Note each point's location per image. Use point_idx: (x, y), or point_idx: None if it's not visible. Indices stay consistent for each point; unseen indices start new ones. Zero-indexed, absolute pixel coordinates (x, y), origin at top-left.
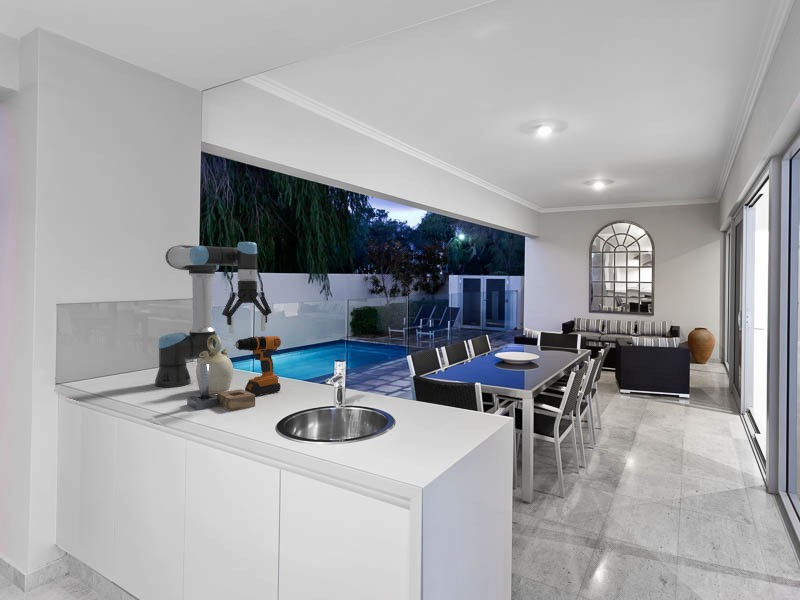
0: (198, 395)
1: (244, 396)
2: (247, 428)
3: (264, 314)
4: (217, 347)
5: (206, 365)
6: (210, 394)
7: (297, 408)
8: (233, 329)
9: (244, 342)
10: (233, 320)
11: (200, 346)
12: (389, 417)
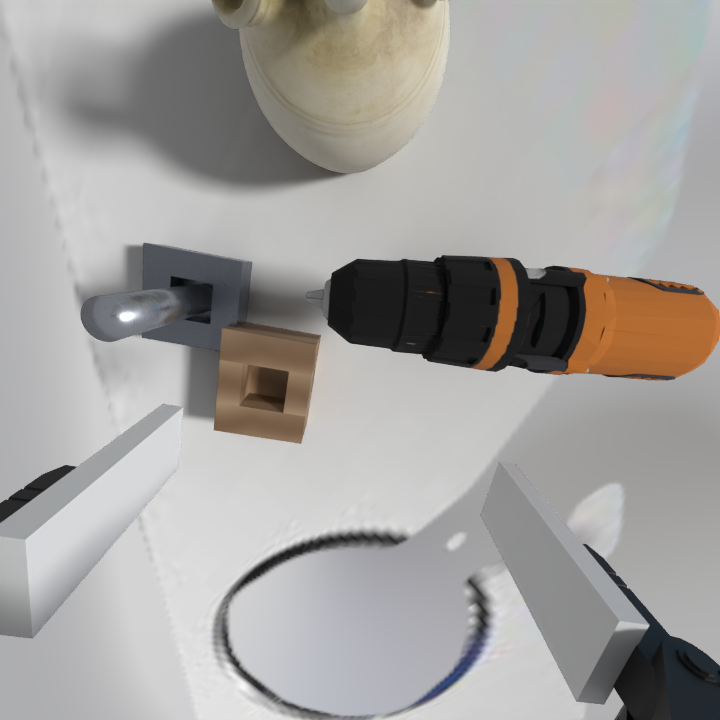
0: (186, 254)
1: (263, 437)
2: (188, 545)
3: (626, 708)
4: (326, 3)
5: (108, 340)
6: (225, 276)
7: (375, 511)
8: (154, 491)
9: (369, 342)
10: (74, 582)
11: None
12: (447, 681)
